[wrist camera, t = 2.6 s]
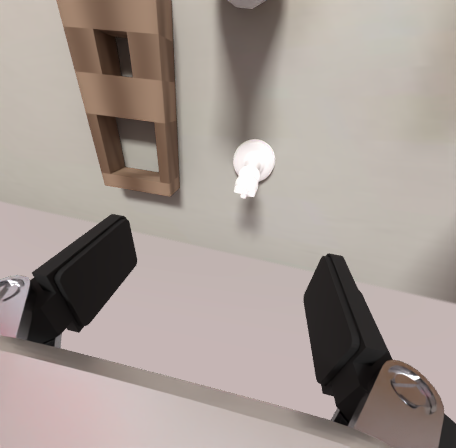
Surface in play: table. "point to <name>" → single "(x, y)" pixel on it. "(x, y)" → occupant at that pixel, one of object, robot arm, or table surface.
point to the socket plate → (126, 83)
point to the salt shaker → (246, 3)
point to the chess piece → (252, 166)
